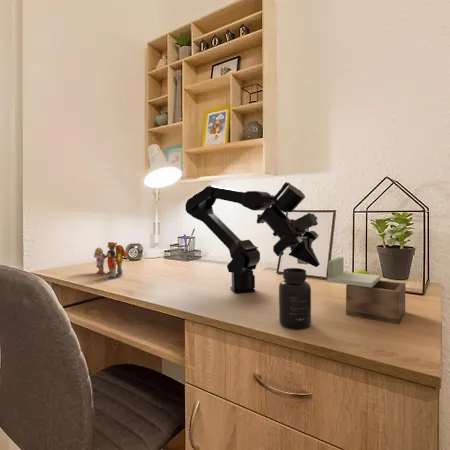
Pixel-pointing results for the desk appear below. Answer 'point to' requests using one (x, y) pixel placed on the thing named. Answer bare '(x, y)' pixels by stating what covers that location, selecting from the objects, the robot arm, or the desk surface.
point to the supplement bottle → (294, 299)
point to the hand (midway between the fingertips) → (318, 265)
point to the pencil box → (377, 301)
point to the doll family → (111, 259)
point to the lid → (348, 275)
